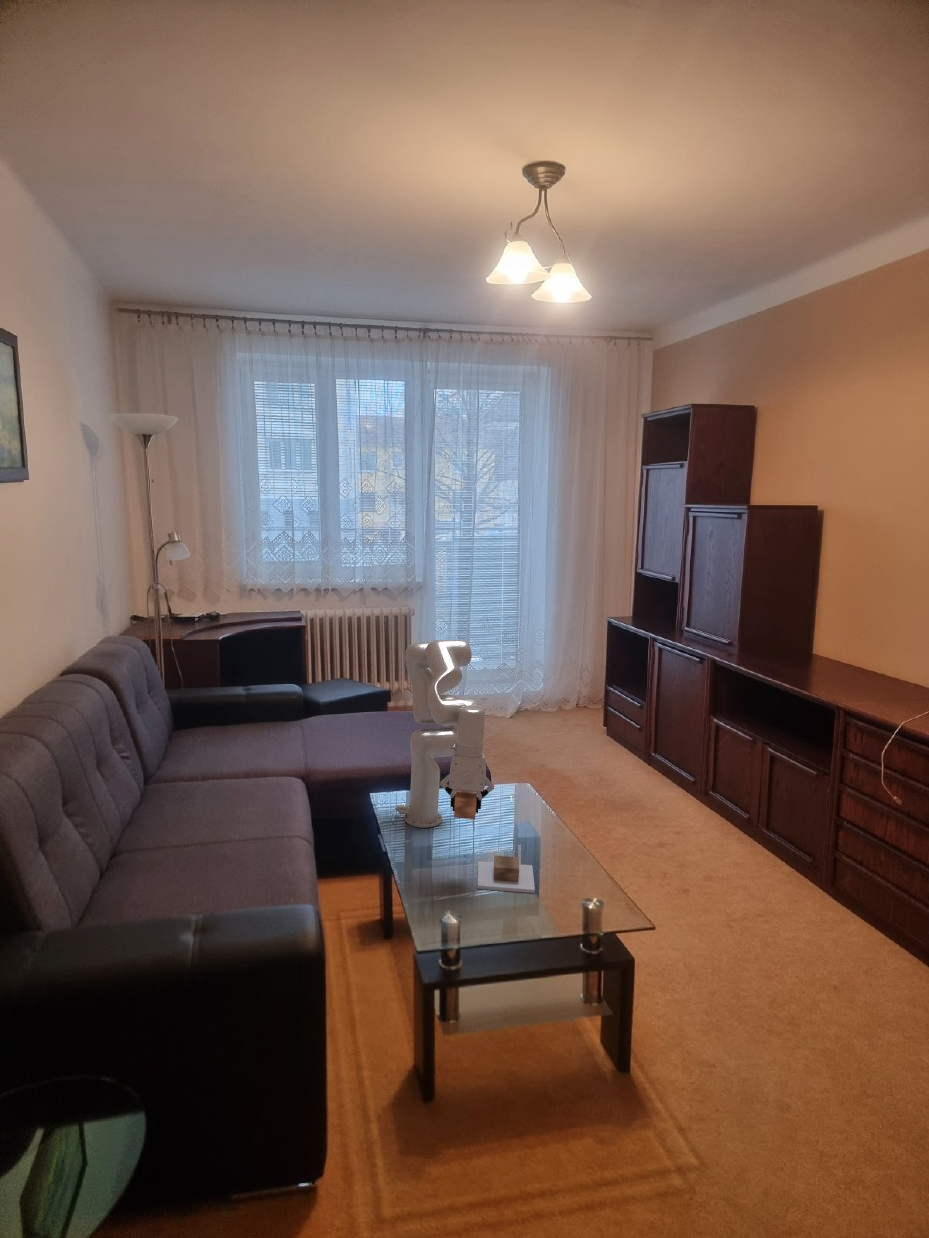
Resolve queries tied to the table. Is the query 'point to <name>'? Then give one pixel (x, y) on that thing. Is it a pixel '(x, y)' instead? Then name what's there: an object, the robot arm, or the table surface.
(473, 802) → the terracotta cube
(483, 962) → the table surface
